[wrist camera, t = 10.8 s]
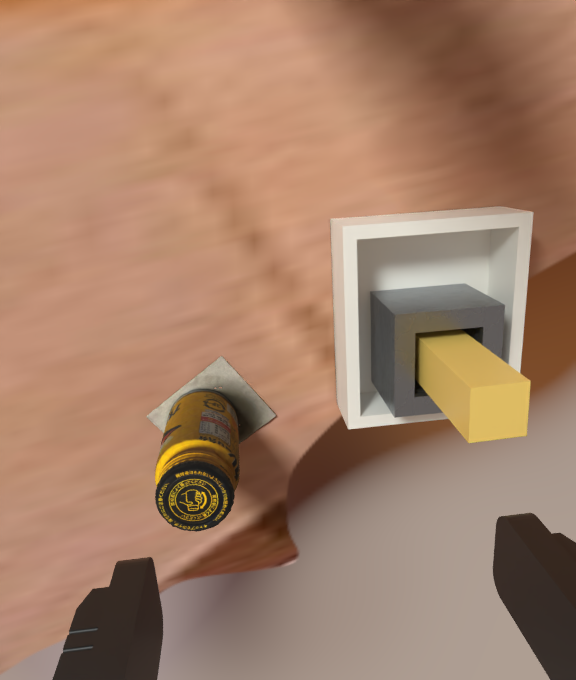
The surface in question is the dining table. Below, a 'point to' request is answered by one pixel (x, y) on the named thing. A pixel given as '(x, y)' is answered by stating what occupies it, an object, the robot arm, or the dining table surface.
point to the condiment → (204, 445)
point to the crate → (420, 284)
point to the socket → (416, 317)
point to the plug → (472, 386)
